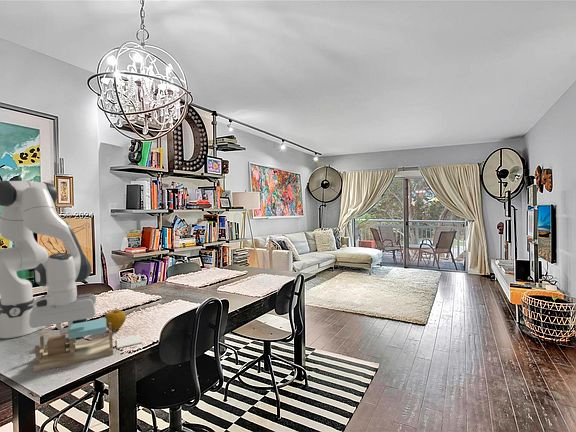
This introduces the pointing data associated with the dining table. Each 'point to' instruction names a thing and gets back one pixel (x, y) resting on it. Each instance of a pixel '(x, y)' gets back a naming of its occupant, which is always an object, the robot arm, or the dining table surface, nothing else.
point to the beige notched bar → (73, 352)
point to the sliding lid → (87, 328)
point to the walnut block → (56, 345)
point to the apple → (115, 319)
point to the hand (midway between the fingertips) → (65, 333)
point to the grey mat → (128, 341)
